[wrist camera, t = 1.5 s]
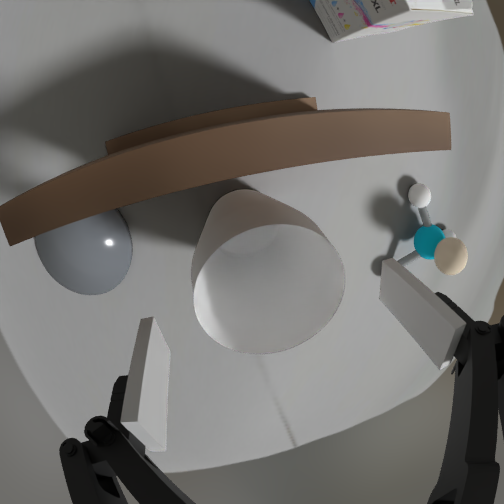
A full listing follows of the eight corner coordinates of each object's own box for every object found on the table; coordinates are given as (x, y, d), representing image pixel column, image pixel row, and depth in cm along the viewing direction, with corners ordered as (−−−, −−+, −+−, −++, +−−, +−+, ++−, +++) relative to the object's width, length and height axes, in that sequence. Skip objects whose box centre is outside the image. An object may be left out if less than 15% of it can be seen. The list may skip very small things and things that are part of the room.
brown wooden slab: (108, 141, 21) (-13, 179, 6) (311, 98, 22) (446, 85, 8) (119, 183, 22) (22, 273, 8) (317, 140, 24) (451, 176, 10)
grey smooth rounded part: (24, 209, 21) (21, 211, 21) (111, 174, 22) (109, 175, 21) (63, 299, 26) (61, 302, 26) (147, 280, 27) (146, 283, 26)
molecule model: (386, 181, 27) (442, 207, 19) (454, 179, 28) (505, 201, 20) (376, 278, 32) (416, 321, 24) (441, 262, 34) (481, 295, 26)
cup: (233, 283, 29) (253, 374, 18) (173, 217, 25) (154, 291, 14) (307, 230, 28) (368, 300, 17) (255, 155, 24) (299, 183, 13)
